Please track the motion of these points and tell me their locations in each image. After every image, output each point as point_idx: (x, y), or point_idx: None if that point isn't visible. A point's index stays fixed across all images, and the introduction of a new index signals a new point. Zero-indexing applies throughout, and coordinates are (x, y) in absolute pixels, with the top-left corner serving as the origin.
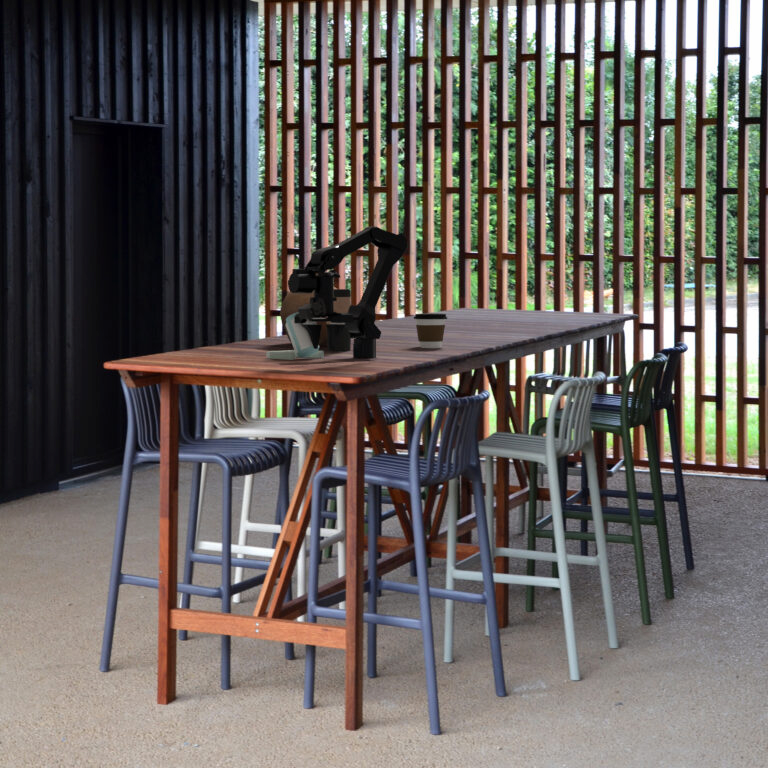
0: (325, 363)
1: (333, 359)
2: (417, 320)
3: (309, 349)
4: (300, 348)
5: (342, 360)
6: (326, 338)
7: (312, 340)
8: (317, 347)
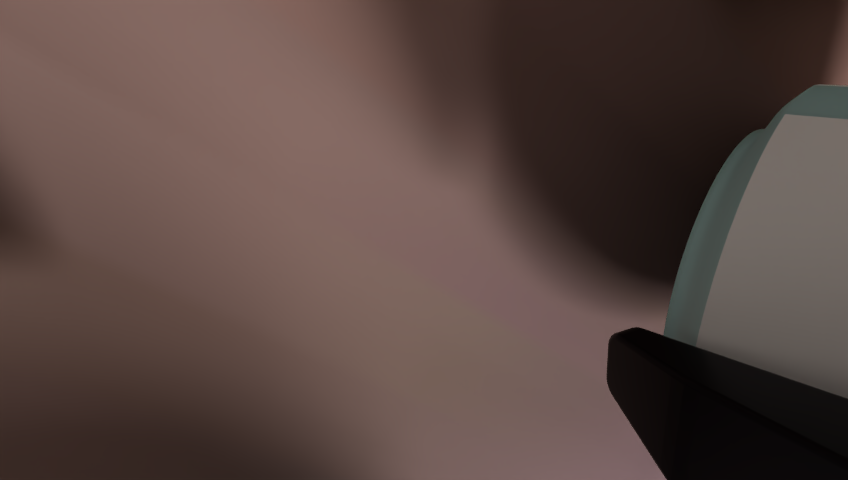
0: None
1: (372, 456)
2: None
3: (693, 257)
4: (836, 117)
5: (49, 476)
6: None
7: (785, 403)
8: (621, 401)
